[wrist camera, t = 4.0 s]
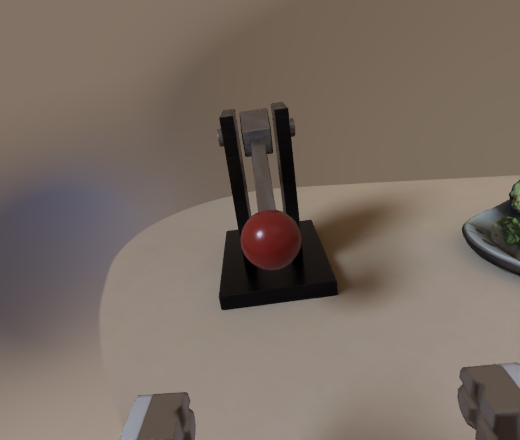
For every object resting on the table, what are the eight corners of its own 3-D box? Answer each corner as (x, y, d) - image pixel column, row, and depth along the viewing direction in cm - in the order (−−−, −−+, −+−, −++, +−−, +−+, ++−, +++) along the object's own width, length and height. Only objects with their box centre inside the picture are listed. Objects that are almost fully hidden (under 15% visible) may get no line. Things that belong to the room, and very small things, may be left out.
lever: (306, 278, 22) (305, 240, 20) (246, 285, 22) (237, 249, 20) (278, 137, 32) (275, 99, 29) (236, 143, 32) (229, 106, 29)
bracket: (337, 295, 29) (326, 110, 23) (221, 310, 29) (183, 130, 24) (312, 230, 40) (300, 94, 34) (228, 241, 40) (203, 108, 35)
